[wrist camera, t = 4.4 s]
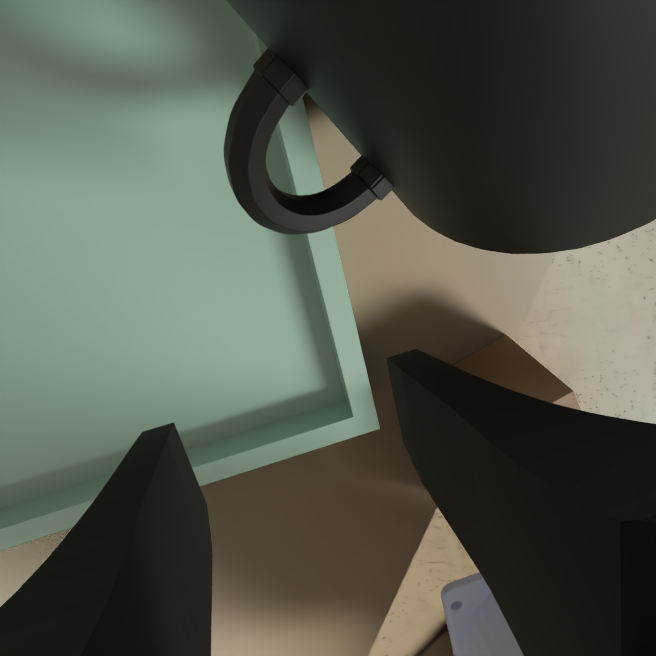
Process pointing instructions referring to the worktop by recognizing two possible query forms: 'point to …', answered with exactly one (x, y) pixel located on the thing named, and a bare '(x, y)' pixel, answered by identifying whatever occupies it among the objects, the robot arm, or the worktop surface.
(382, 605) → the worktop surface
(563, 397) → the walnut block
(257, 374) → the tray
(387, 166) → the mug
